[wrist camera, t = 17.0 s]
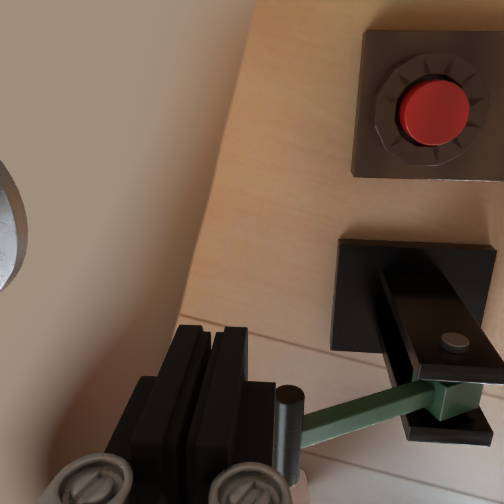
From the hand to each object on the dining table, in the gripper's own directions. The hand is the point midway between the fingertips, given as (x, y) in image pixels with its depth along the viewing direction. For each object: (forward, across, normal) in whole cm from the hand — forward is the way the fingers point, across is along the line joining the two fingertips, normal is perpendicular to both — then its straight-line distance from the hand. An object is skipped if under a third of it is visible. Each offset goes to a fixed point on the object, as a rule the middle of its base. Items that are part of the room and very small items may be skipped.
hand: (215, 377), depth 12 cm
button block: (+24, -12, -5) cm, 27 cm away
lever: (+12, -6, +9) cm, 16 cm away
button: (+21, -10, -5) cm, 24 cm away
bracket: (+24, -11, +9) cm, 28 cm away
